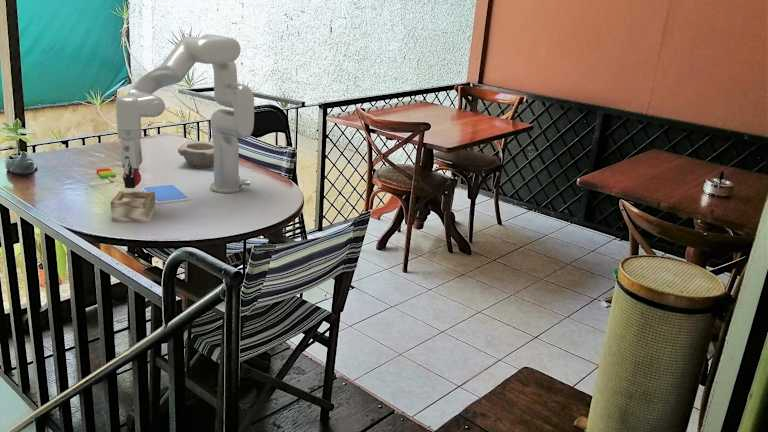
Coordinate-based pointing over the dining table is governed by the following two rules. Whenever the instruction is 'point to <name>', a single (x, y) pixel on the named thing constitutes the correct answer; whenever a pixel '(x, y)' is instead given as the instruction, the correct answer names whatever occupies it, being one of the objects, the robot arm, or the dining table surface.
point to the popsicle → (106, 174)
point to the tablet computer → (167, 194)
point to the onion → (137, 177)
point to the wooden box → (133, 206)
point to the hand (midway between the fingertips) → (132, 184)
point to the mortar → (198, 153)
